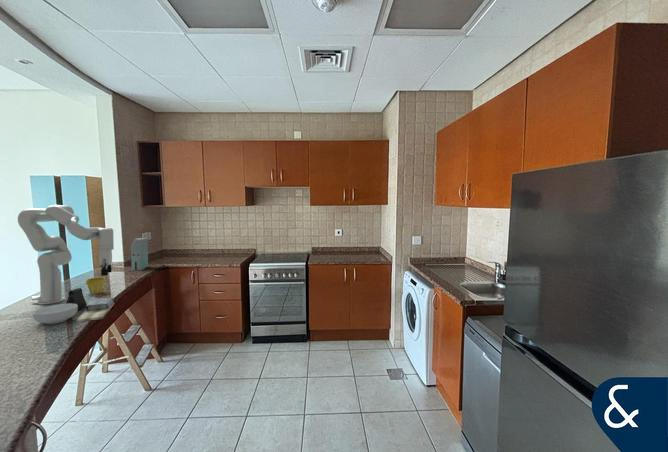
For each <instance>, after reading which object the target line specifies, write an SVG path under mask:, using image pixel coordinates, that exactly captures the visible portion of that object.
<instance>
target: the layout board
mask: <svg viewBox="0 0 668 452" xmlns="http://www.w3.org/2000/svg"><path fill="white" fill-rule="evenodd" d="M114 305H115V302H114V301H113V303H112V304H111V305H110V307H109V308H107V309H98V310H88V311H86V310H84V311H83V313H82V314H81V315H80V316H79V317H78V318H77V319H76V323H79V322H89V321H96V320H103V319H105V317H106V315H107V314H108V313H109V311H111V309H112V308H113V307H114Z"/></svg>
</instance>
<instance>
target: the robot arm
mask: <svg viewBox="0 0 668 452" xmlns="http://www.w3.org/2000/svg"><path fill="white" fill-rule="evenodd" d="M45 222H47V223H50V222H58V223H59V224H60V225H63V226H65V228H66V230H67V231H68V233H69V234H70V235H72V236H74V237H75V238H78V239H80V240H82V241H90V240H91V241H92V240H98V247H97V248H98V251H99V256H98V258H99V259H98V266H100V276H101V277H104V276H105V277H107V276H108V275H109V274H108V273H112V263H113V250H114V247H115V246H114V245H115V244H114V229H113V228H111V227H97V226H96V227H85V226H82V225H81V224H79V222H80V217H79V215H77V214H75V211H74V209H73V207H71V206H70V205H65V204H64V205H63V204H62V205H61V204H53V205H49V206H47V207H46V208H27V209H23V210H21V211H20V212H19V213H18V215H17V224H18V226H19V227H20V228H21V230H22V231H23V232H24V234H25V236H26V238H27V240H28V242H29V243H30V245H31V247H32V249H33V250H34V251H36V252H40V253H41V252H42V254H40V255H38V256H37V257H38V258H37V260H36V264H37V267H38V270H39V281H40V282H39V283H40V286H39V287H40V294H39V295H38V296H36V295H35V296H31V300H32V301H37V302H36V304H37V305H41V306H42V305H51V304H57V303H61V302H64V301H65V300H66V297H65V296H63V294H62V292H63V291H62V271H61V269H60V267H59V266H64V265H67V264H69V263H70V262H71V261H72V257H73V256H72V254H71V250H69V248H68V246H67V243H66V242H65V240H64V239H63V238H62V237H61V236H58V235H48V234H47V232H46V231H45V228H44V227H43V226H42V225H40V224H39V223H45ZM43 252H45V253H43Z"/></svg>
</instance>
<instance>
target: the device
mask: <svg viewBox="0 0 668 452" xmlns="http://www.w3.org/2000/svg"><path fill="white" fill-rule="evenodd" d="M148 243H149V238H148V237H139V238H138V237H137V238H134V239H133V242H132V243H131V245H130V247H131V250H130V251H131V255H130V257H131V262H130V263H131V271H142V270H145V269H146V267H147V268H148V267H149V246H148V245H149V244H148Z"/></svg>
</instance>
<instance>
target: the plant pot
mask: <svg viewBox="0 0 668 452" xmlns="http://www.w3.org/2000/svg"><path fill="white" fill-rule="evenodd" d="M85 282H86V283H85V284H86V286H87V288H88V289H87V290H88V291H89V294H91V295H95V294H96V295H97V294H101V293H103V289H104V285H105V283H106V278H105V277H92V278H88V279H86V280H85Z"/></svg>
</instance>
